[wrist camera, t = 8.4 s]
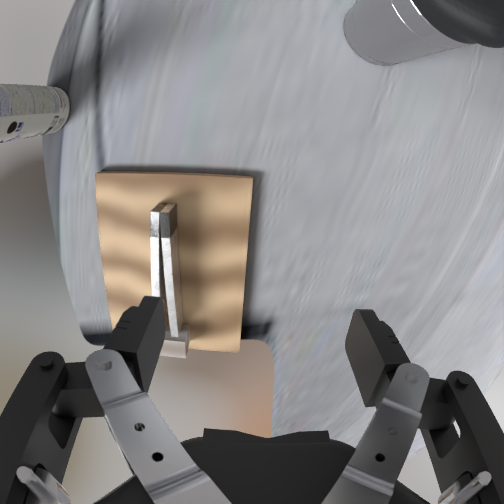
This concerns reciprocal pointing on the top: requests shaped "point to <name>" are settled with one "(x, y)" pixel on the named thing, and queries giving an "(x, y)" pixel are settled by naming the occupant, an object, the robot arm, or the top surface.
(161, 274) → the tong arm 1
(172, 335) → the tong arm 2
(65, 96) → the spray can
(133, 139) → the top surface
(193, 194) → the board
